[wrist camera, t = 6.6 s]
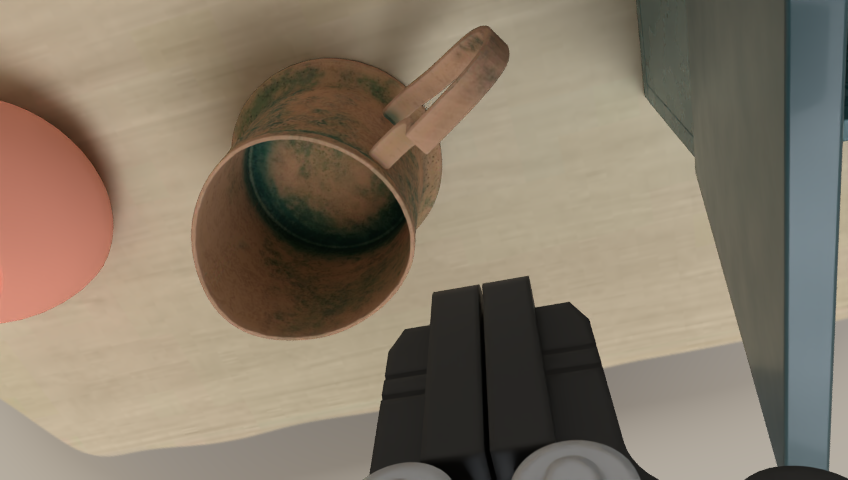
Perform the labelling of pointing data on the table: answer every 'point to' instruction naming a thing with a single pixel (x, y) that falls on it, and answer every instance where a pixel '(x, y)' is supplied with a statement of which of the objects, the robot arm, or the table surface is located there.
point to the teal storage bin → (676, 65)
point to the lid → (775, 194)
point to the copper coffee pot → (330, 189)
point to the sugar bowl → (47, 216)
